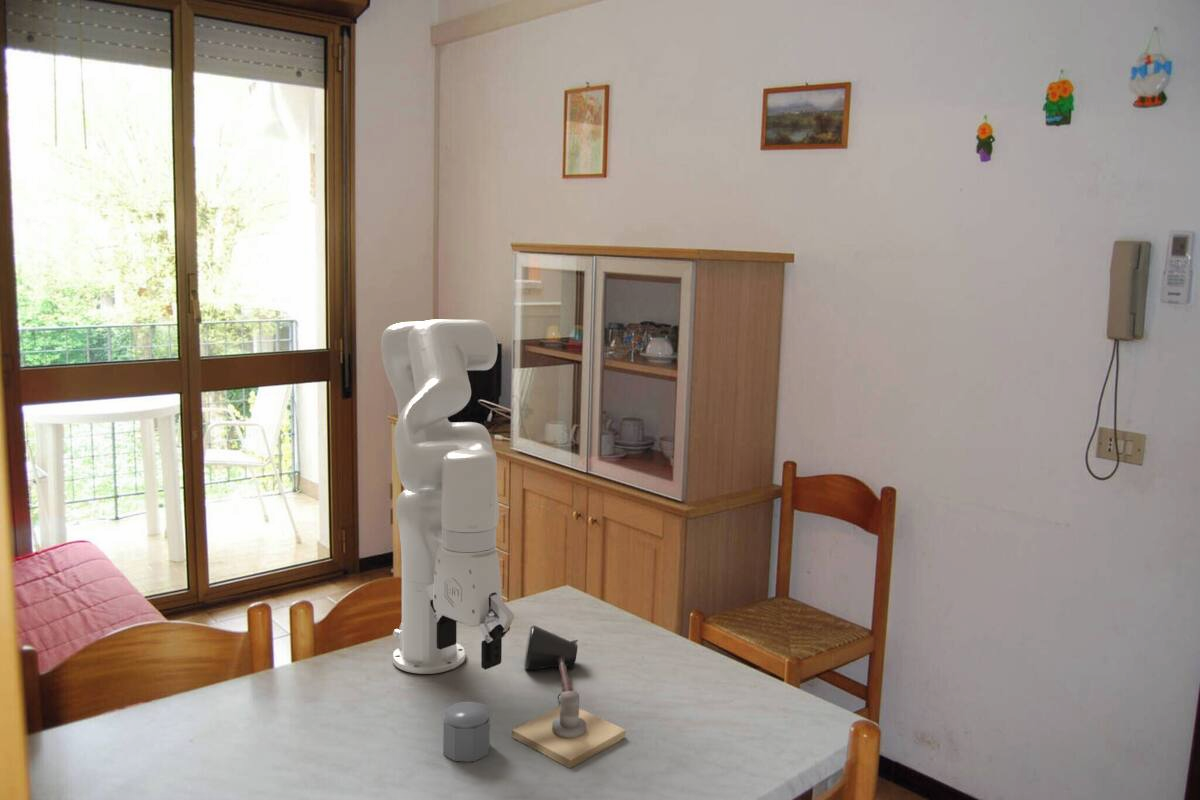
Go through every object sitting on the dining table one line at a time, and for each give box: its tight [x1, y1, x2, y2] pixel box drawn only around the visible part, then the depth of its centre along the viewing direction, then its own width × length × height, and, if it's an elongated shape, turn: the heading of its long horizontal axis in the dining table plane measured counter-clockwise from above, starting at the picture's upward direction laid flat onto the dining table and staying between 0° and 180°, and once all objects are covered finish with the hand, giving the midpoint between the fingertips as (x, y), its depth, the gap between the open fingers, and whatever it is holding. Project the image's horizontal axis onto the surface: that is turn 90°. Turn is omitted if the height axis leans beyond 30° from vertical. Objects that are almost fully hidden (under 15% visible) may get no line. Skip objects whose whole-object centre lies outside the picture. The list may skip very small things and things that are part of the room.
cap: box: [442, 701, 491, 763], centre depth 133 cm, size 6×6×6 cm
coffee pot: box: [523, 625, 579, 703], centre depth 156 cm, size 8×18×8 cm
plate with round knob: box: [511, 690, 627, 769], centre depth 137 cm, size 12×12×7 cm
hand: (468, 656), depth 131 cm, fingers open, 9 cm apart
